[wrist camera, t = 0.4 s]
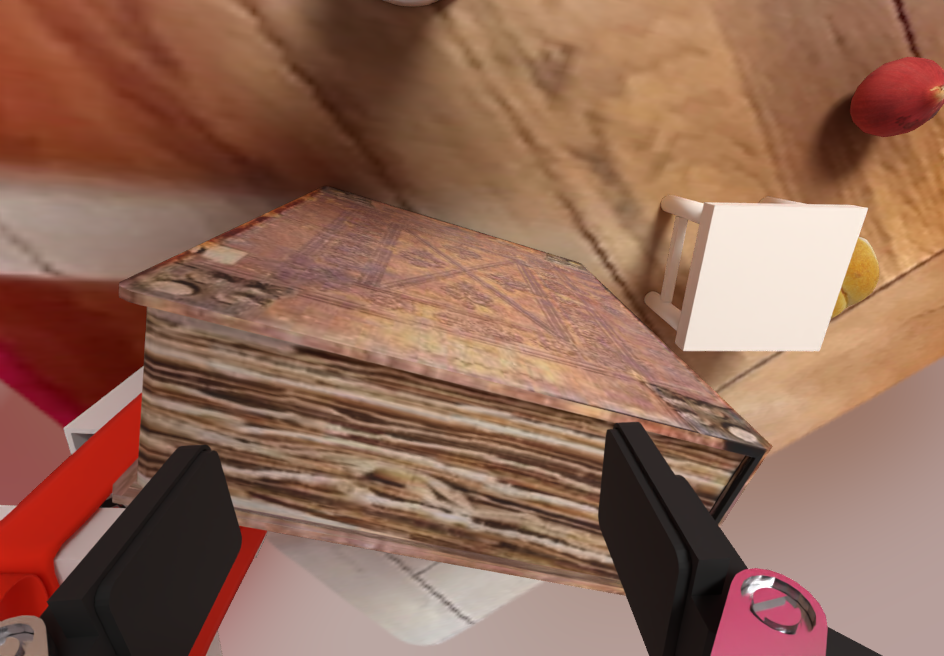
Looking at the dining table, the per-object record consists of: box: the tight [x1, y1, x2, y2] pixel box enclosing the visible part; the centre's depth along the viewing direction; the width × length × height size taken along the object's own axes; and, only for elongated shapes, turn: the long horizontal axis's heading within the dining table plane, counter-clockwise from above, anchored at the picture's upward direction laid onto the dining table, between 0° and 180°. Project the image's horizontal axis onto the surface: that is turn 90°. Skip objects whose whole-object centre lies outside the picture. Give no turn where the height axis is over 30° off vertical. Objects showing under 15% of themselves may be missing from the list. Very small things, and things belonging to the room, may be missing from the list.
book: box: [112, 186, 772, 596], centre depth 32 cm, size 25×9×30 cm, turn 73°
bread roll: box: [831, 237, 879, 318], centre depth 47 cm, size 8×9×4 cm
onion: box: [850, 57, 944, 137], centre depth 39 cm, size 6×6×8 cm
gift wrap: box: [0, 366, 268, 656], centre depth 37 cm, size 17×17×30 cm
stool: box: [644, 195, 868, 351], centre depth 42 cm, size 12×12×10 cm
